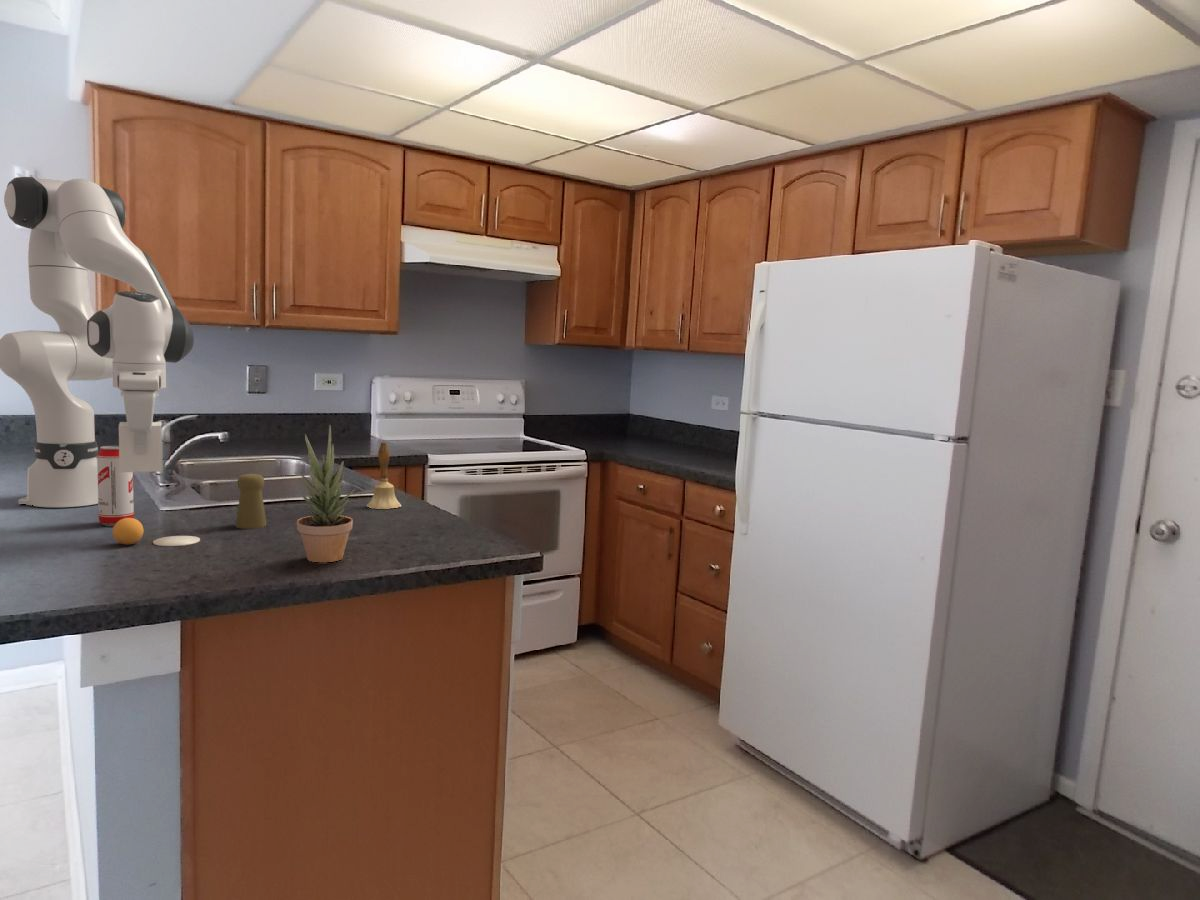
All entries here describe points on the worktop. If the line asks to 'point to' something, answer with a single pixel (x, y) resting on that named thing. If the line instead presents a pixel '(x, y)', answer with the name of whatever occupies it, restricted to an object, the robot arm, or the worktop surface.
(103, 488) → the beer can
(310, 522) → the potted plant
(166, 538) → the cream domed disc
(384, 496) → the hand bell
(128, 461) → the cream cube
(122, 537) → the ball
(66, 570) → the worktop surface
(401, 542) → the worktop surface
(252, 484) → the cork
